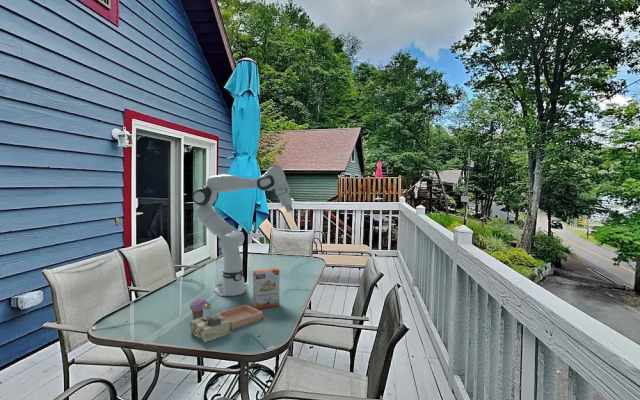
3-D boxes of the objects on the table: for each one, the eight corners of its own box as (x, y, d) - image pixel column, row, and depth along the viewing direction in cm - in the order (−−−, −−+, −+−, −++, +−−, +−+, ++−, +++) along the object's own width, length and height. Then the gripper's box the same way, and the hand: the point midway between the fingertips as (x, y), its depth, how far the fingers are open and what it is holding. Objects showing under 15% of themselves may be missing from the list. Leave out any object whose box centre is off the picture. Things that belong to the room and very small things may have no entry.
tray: (215, 320, 169) (215, 313, 169) (245, 310, 182) (245, 304, 182) (232, 329, 158) (232, 322, 158) (263, 318, 171) (262, 312, 171)
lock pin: (202, 331, 156) (201, 304, 156) (209, 329, 159) (208, 302, 158) (205, 334, 154) (204, 306, 153) (212, 331, 157) (211, 304, 156)
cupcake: (200, 313, 179) (200, 295, 178) (212, 316, 174) (211, 297, 174) (186, 319, 171) (186, 300, 170) (198, 322, 167) (197, 303, 166)
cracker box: (256, 310, 183) (255, 272, 182) (253, 306, 188) (252, 270, 187) (280, 305, 189) (279, 269, 188) (276, 302, 195) (275, 267, 194)
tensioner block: (191, 333, 155) (190, 317, 155) (214, 325, 164) (214, 310, 163) (205, 343, 145) (205, 326, 145) (229, 334, 154) (229, 318, 153)
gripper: (281, 191, 218) (288, 211, 218) (274, 192, 198) (282, 214, 198) (290, 188, 218) (297, 208, 218) (284, 189, 197) (292, 211, 198)
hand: (290, 211), depth 208 cm, fingers open, 8 cm apart
